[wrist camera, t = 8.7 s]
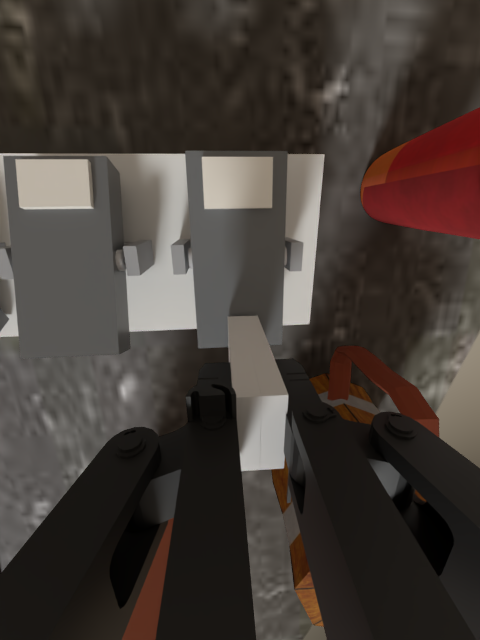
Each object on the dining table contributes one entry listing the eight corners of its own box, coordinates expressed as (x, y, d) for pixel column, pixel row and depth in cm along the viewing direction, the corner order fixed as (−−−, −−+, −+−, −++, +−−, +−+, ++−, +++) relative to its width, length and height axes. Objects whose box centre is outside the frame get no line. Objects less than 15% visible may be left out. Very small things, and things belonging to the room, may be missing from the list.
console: (-7, 301, 24) (-176, 368, 14) (-54, 170, 20) (-337, 125, 10) (282, 292, 26) (327, 345, 15) (288, 169, 22) (352, 131, 12)
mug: (359, 462, 35) (452, 626, 21) (256, 466, 34) (283, 641, 20) (398, 321, 28) (577, 428, 14) (269, 320, 27) (325, 434, 13)
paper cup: (423, 233, 25) (649, 256, 12) (342, 235, 24) (485, 261, 11) (446, 132, 22) (776, 17, 9) (354, 132, 21) (564, 8, 8)
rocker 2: (196, 337, 16) (193, 350, 14) (184, 160, 13) (179, 148, 11) (279, 334, 16) (287, 346, 14) (283, 161, 13) (293, 148, 11)
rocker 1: (39, 352, 14) (11, 360, 12) (24, 173, 13) (-8, 152, 12) (134, 348, 14) (121, 355, 12) (123, 173, 14) (108, 152, 12)
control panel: (133, 519, 36) (152, 431, 31) (186, 524, 37) (212, 440, 32) (29, 902, 16) (32, 831, 11) (150, 887, 17) (204, 816, 12)
